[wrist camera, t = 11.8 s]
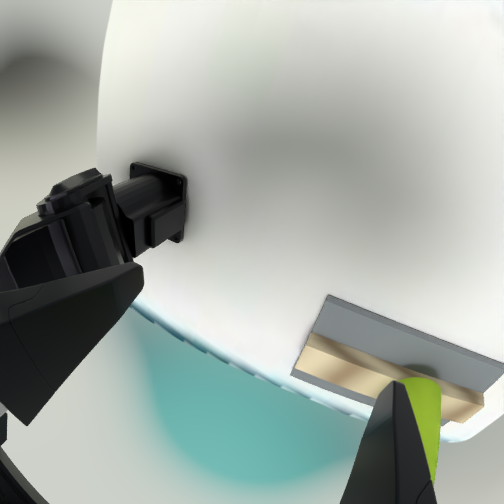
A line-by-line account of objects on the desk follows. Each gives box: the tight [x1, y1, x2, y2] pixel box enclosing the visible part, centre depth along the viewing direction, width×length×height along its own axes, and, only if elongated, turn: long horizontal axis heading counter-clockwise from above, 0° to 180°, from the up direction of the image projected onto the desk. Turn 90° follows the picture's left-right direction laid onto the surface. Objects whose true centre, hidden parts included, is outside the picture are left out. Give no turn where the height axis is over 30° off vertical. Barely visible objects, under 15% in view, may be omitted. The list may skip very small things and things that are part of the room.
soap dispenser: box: [398, 377, 441, 486], centre depth 12 cm, size 6×7×20 cm
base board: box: [290, 295, 504, 426], centre depth 22 cm, size 20×11×1 cm, turn 79°
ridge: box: [295, 332, 484, 423], centre depth 21 cm, size 20×4×2 cm, turn 79°
